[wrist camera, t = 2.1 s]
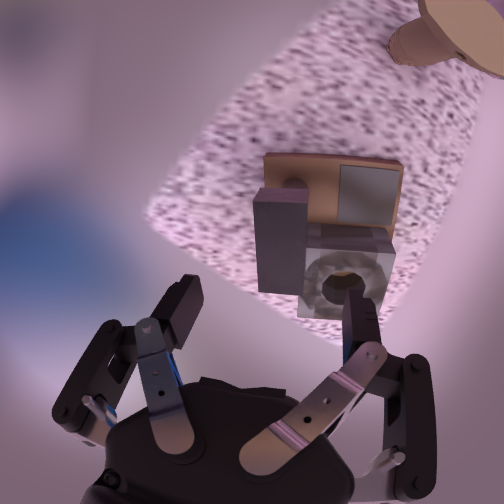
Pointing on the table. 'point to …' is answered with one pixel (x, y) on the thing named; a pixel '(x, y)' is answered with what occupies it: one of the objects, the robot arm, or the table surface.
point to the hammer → (281, 237)
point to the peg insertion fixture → (343, 225)
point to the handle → (452, 36)
